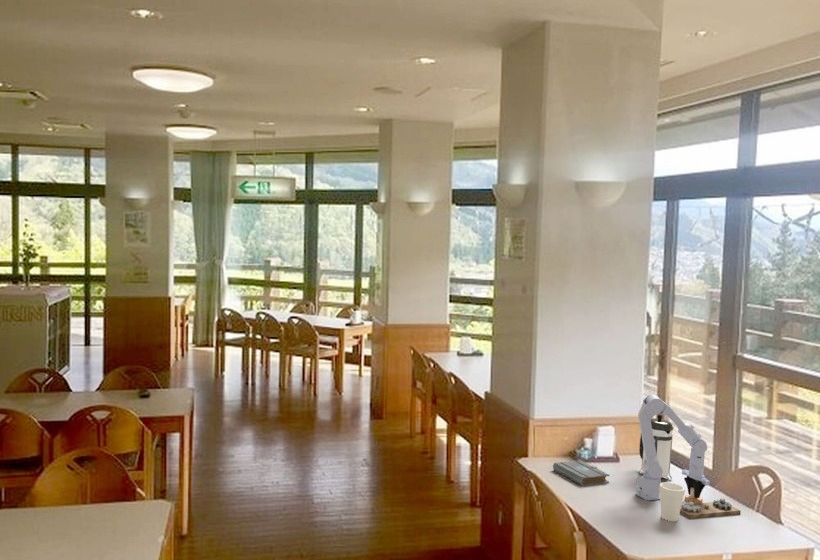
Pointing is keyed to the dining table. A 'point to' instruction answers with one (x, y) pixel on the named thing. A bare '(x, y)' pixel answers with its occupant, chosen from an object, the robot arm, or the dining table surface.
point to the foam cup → (671, 500)
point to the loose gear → (692, 498)
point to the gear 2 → (722, 504)
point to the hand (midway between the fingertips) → (693, 496)
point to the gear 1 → (691, 507)
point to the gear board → (709, 511)
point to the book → (581, 472)
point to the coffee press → (660, 444)
